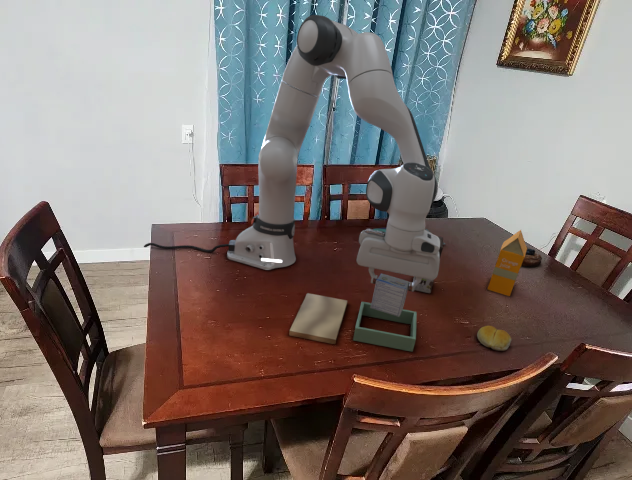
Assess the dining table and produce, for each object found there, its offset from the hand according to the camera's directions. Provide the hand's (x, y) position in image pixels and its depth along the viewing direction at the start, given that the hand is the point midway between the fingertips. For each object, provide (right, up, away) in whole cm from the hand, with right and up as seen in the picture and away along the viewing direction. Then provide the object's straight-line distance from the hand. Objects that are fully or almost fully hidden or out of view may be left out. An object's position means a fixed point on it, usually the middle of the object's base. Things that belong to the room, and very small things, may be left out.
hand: (392, 286), depth 112 cm
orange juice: (+41, +2, +39) cm, 57 cm away
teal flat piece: (+12, +21, +63) cm, 68 cm away
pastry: (+58, +14, +62) cm, 86 cm away
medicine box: (-1, -6, +4) cm, 7 cm away
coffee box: (+13, +2, +33) cm, 36 cm away
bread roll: (+29, -15, +10) cm, 34 cm away
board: (-19, -8, +9) cm, 23 cm away
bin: (-1, -12, +8) cm, 14 cm away
